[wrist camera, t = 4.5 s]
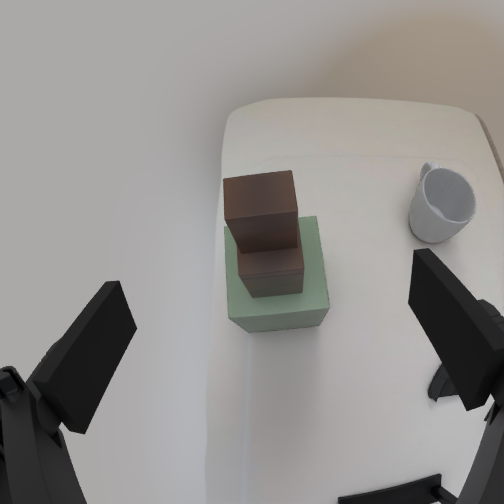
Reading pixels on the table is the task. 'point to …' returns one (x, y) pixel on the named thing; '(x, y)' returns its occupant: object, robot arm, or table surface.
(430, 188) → the mug
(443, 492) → the rail stand
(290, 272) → the brown arch stand
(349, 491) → the table surface
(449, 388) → the curved wedge
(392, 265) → the table surface
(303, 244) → the plinth
